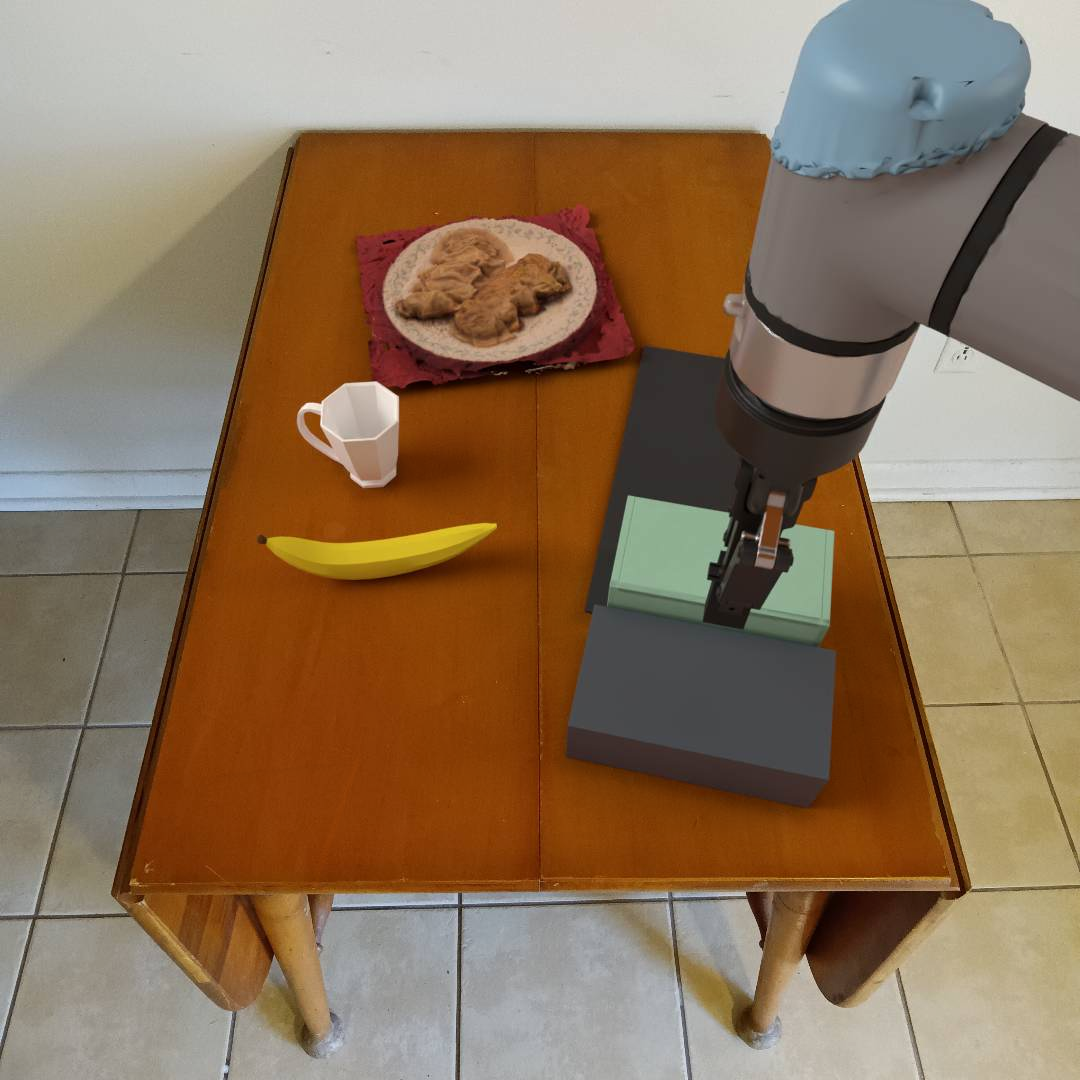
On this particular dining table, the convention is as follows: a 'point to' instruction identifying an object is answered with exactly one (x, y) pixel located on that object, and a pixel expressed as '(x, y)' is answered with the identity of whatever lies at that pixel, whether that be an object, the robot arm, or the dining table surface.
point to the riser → (704, 706)
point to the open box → (682, 566)
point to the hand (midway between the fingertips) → (724, 616)
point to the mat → (667, 448)
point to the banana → (377, 552)
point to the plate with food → (488, 298)
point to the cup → (358, 431)
